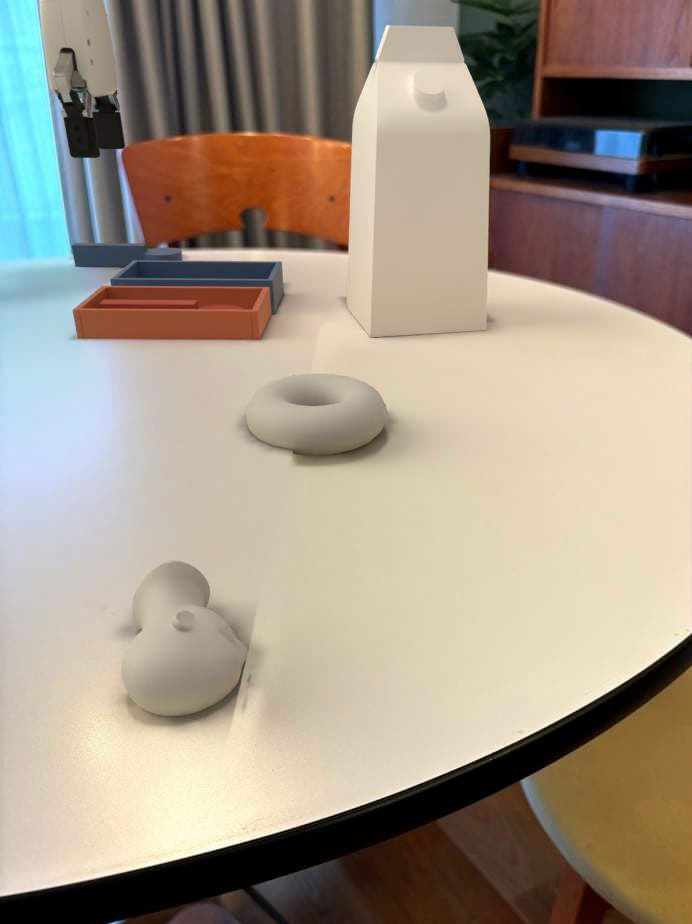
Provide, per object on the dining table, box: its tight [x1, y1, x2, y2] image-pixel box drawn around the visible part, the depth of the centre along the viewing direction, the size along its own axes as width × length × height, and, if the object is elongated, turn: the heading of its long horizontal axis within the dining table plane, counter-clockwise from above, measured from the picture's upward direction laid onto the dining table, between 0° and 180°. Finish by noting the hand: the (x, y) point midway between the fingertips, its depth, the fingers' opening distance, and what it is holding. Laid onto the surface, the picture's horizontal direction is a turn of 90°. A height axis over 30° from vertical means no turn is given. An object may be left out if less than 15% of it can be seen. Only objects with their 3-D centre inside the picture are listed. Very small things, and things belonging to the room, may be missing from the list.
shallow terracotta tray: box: [99, 300, 244, 310], centre depth 80 cm, size 14×5×3 cm, turn 92°
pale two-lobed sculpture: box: [120, 559, 248, 717], centre depth 36 cm, size 4×8×5 cm
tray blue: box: [109, 260, 285, 315], centre depth 90 cm, size 17×9×4 cm, turn 91°
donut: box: [245, 373, 388, 456], centre depth 59 cm, size 10×4×10 cm
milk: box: [346, 24, 491, 338], centre depth 80 cm, size 12×12×26 cm
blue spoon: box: [71, 242, 184, 268], centre depth 106 cm, size 14×5×3 cm, turn 91°
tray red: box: [72, 285, 272, 340], centre depth 80 cm, size 17×9×4 cm, turn 91°
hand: (99, 152), depth 96 cm, fingers open, 9 cm apart
